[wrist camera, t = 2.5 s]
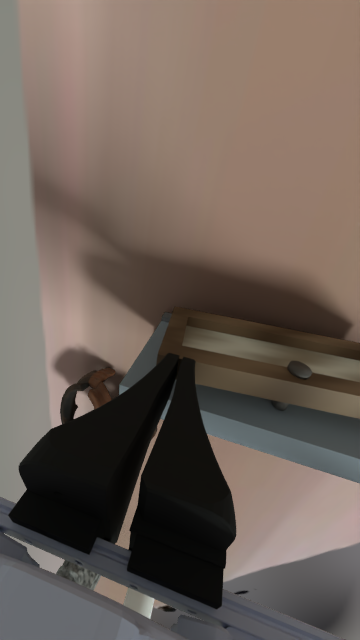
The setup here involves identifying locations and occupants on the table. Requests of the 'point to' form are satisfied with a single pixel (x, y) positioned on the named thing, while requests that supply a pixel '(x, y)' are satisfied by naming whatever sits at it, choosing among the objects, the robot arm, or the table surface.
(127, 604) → the bottle
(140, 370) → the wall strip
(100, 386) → the pottery mug
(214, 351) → the brown rectangular panel
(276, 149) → the table surface
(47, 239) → the table surface
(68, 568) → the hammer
